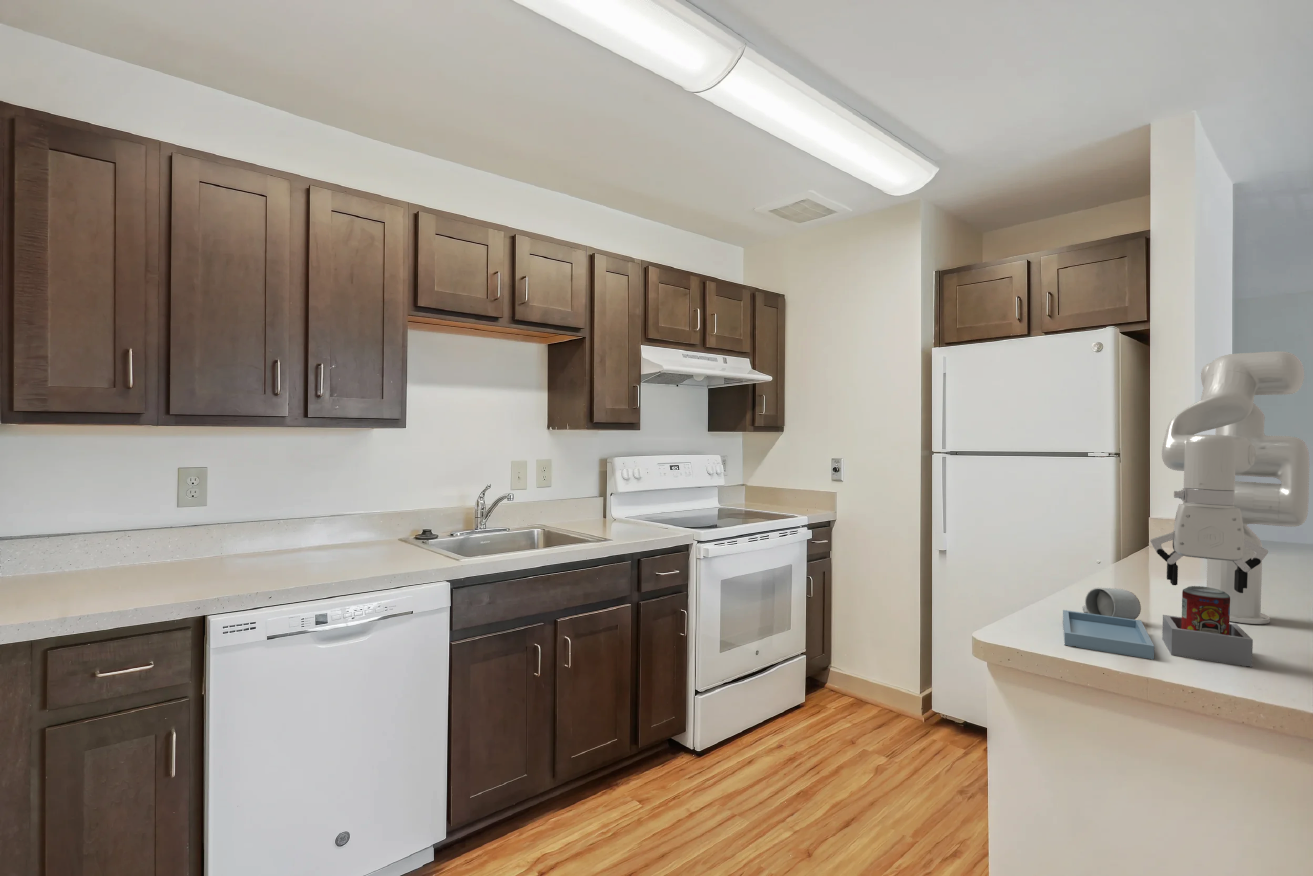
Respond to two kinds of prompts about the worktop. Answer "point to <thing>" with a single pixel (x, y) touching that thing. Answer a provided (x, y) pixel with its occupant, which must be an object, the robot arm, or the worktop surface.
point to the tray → (1107, 634)
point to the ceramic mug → (1112, 603)
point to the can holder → (1207, 643)
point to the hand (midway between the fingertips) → (1205, 587)
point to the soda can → (1205, 610)
